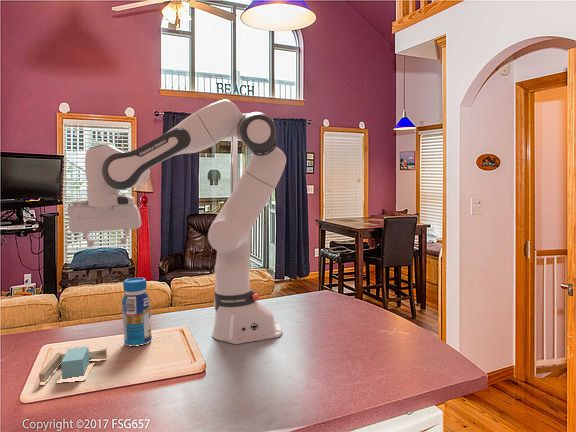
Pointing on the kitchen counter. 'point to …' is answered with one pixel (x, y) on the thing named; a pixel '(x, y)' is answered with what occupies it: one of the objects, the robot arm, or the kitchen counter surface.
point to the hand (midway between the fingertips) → (107, 245)
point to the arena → (59, 357)
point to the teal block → (75, 362)
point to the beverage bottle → (136, 312)
